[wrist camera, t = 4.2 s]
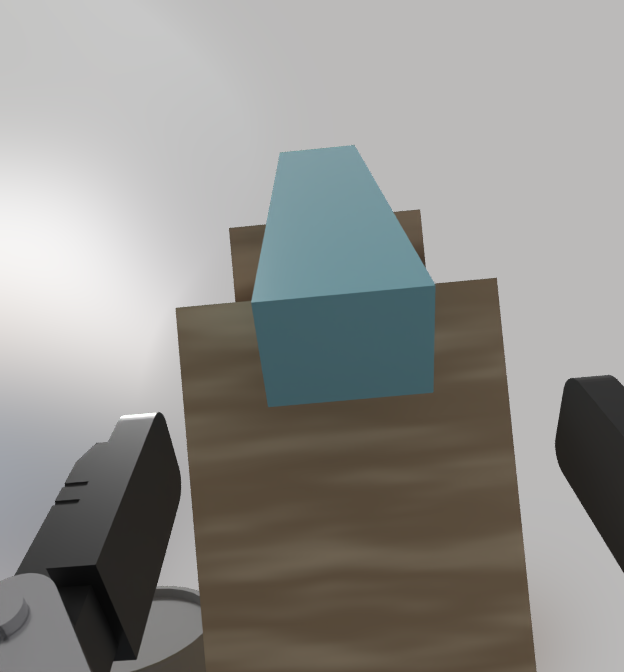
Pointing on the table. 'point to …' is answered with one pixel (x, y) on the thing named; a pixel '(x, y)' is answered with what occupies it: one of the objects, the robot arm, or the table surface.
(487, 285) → the brown tall stepped block
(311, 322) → the long light blue beam
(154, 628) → the reusable coffee cup
